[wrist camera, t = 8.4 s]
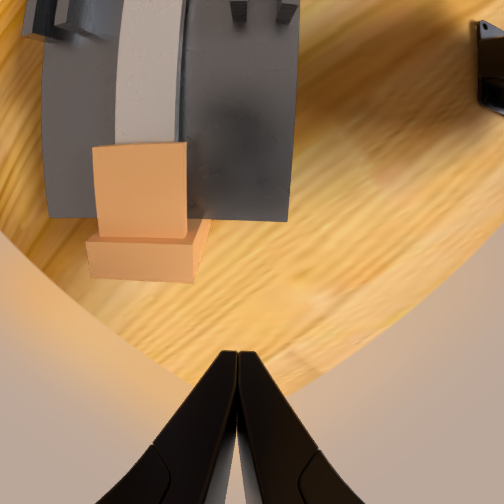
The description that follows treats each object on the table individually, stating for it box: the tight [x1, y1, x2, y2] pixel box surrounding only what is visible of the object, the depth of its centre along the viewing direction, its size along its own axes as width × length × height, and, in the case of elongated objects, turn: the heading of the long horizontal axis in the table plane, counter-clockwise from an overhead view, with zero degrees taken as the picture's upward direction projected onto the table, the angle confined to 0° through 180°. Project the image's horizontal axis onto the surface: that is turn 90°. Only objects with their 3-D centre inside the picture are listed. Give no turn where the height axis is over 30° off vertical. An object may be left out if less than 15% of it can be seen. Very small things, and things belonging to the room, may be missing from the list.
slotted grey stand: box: [22, 0, 300, 222], centre depth 11 cm, size 12×18×6 cm, turn 177°
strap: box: [115, 0, 186, 144], centre depth 10 cm, size 14×3×1 cm, turn 177°
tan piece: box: [85, 142, 211, 283], centre depth 14 cm, size 4×5×7 cm
